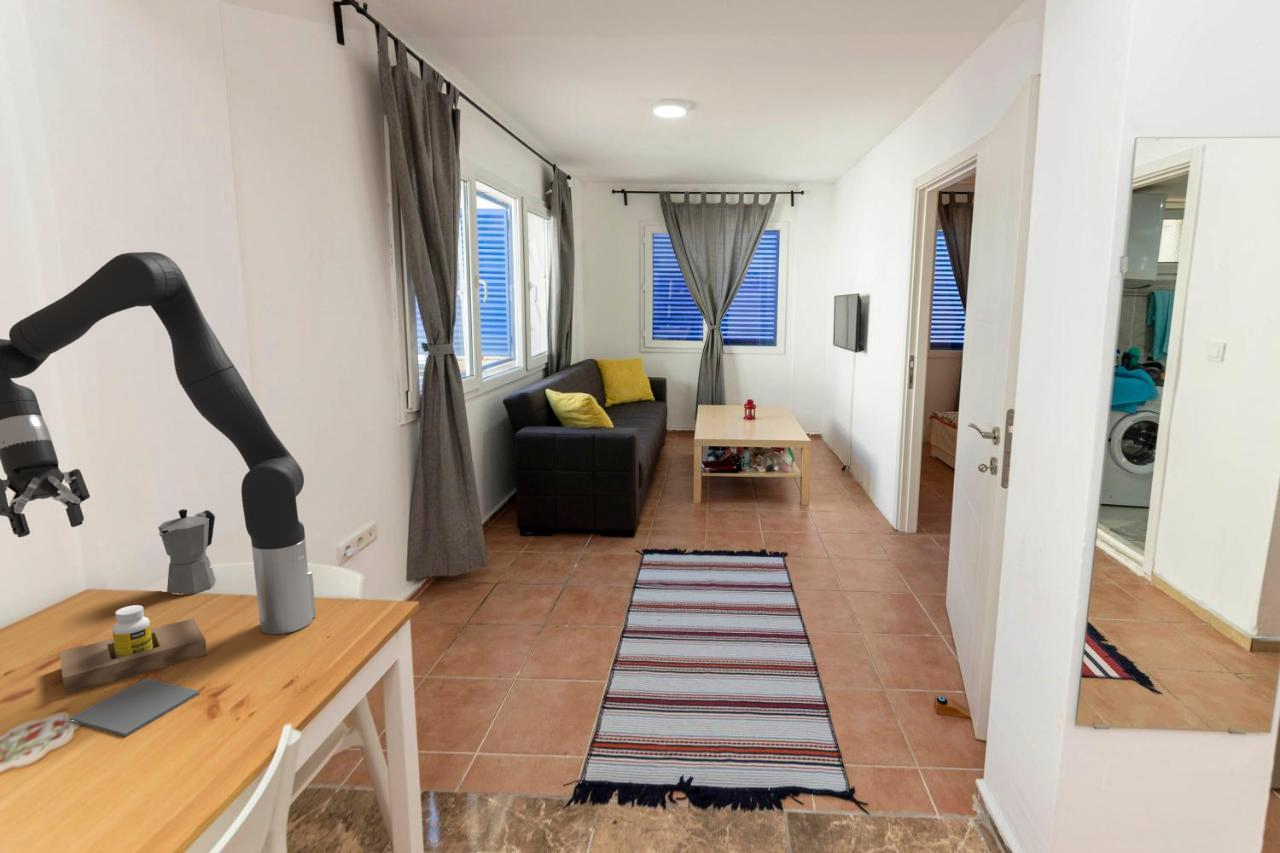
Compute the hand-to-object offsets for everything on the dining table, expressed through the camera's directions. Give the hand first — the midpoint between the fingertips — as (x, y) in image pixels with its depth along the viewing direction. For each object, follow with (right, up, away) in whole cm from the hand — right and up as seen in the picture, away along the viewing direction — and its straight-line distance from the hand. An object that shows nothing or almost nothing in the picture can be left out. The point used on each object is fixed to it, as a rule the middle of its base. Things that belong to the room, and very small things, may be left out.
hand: (51, 530), depth 125 cm
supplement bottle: (+15, -23, 0) cm, 28 cm away
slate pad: (+25, -26, -14) cm, 39 cm away
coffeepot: (+5, -17, +32) cm, 37 cm away
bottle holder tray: (+15, -23, 0) cm, 28 cm away
